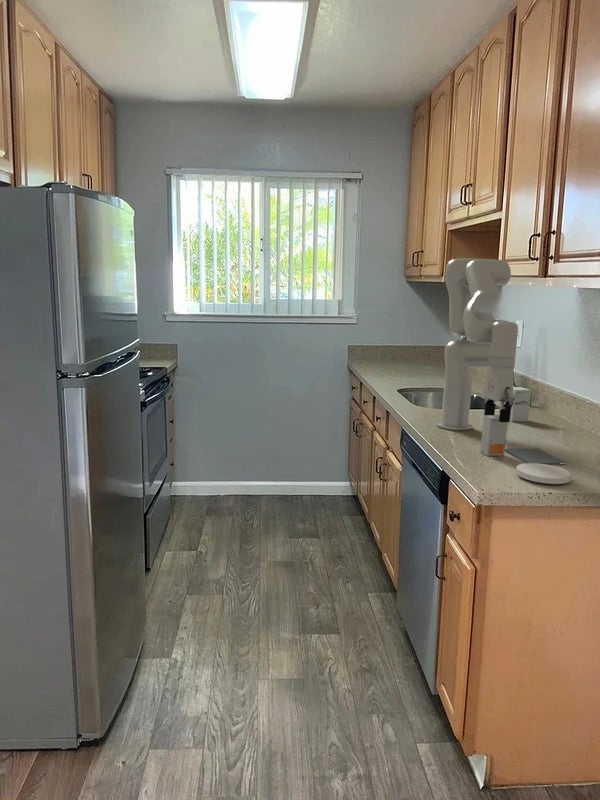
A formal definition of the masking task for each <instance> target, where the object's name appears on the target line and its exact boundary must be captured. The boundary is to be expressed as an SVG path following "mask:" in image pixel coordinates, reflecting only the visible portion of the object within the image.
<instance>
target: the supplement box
mask: <svg viewBox="0 0 600 800" xmlns="http://www.w3.org/2000/svg"><path fill="white" fill-rule="evenodd" d="M531 393H532V390H531V389H530V388H529V389H528V388H525V387H520V386H513V394H514V396H515V399H514V402H513V405H512V409H511V414H510V422H509V423H515V422H524V423H525V422H528V418H529V410H530V409H529V408H530V404H531V403H530V402H531V401H530V400H531ZM505 403H506V402H504V404H505Z"/></svg>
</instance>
